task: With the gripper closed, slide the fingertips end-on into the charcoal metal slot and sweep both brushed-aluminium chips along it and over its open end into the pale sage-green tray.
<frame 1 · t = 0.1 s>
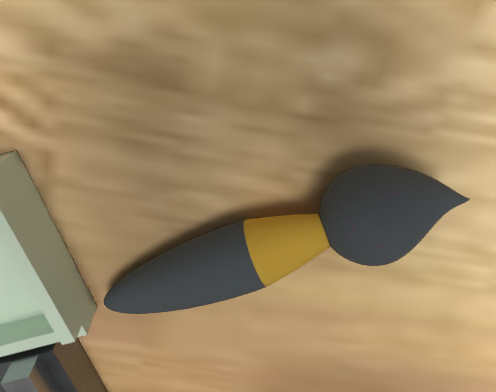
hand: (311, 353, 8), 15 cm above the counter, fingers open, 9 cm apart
paintbrush: (270, 231, 24), on the counter
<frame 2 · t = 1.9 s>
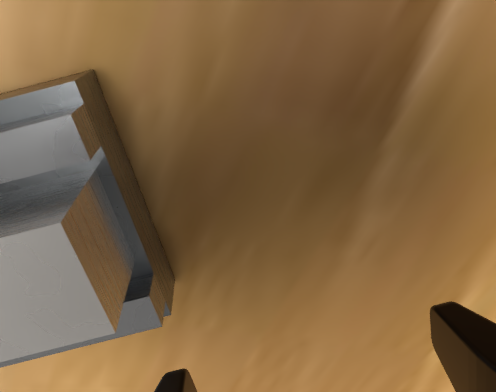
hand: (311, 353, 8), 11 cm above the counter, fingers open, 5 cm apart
chip a: (64, 230, 16), point 2 cm above the counter, touching slot board
slot board: (3, 222, 18), on the counter
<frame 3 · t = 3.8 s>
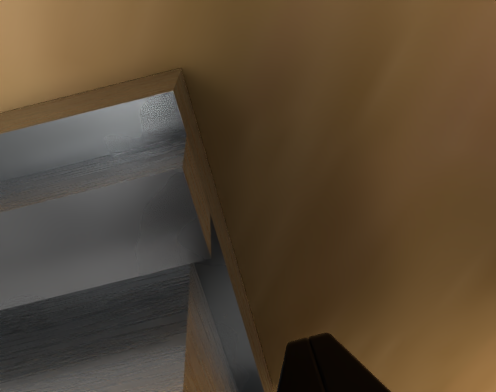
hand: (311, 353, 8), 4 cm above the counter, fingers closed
chip a: (125, 354, 9), point 3 cm above the counter, touching gripper
slot board: (16, 312, 11), on the counter
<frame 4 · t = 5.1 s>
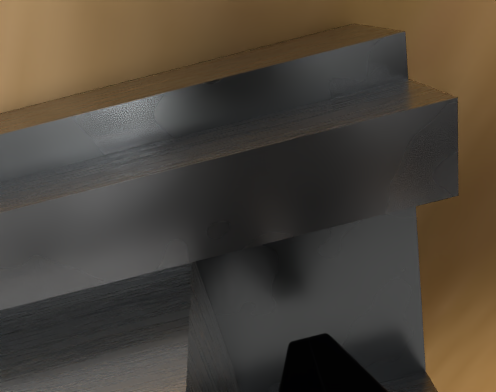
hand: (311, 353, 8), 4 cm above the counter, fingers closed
chip a: (128, 352, 9), point 3 cm above the counter, touching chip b, gripper
slot board: (155, 278, 11), on the counter
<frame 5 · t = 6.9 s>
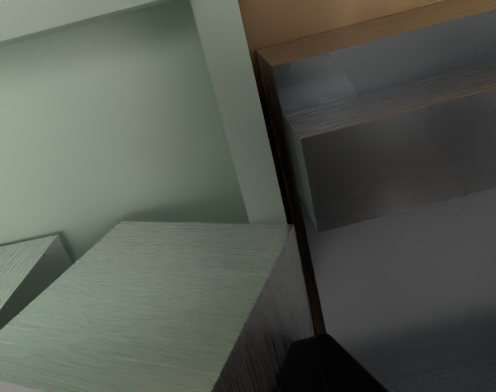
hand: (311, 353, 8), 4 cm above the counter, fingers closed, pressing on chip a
chip tray: (103, 293, 11), on the counter
chip a: (222, 298, 9), point 2 cm above the counter, tilted 27°, touching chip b, gripper
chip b: (58, 367, 9), point 3 cm above the counter, tilted 94°, touching chip a, chip tray
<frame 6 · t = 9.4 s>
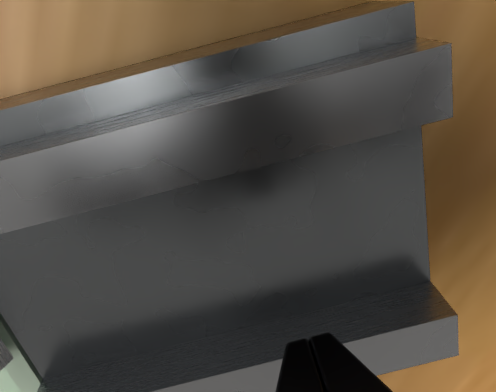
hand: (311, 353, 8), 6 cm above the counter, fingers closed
slot board: (209, 213, 14), on the counter
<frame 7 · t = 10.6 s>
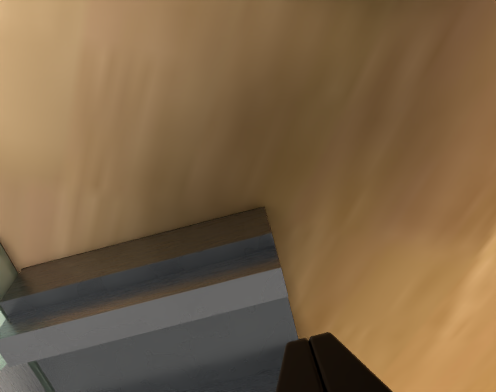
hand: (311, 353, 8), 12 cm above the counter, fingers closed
chip a: (11, 374, 21), point 2 cm above the counter, tilted 28°, touching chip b, chip tray
slot board: (174, 316, 22), on the counter
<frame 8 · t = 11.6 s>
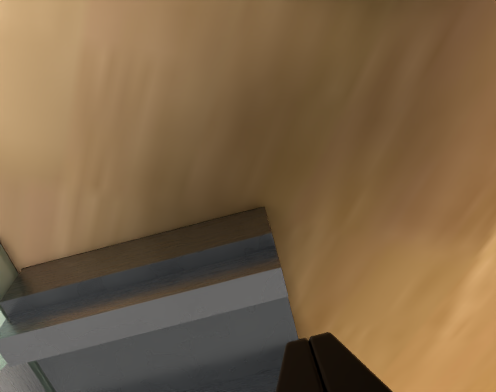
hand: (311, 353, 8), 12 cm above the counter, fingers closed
chip a: (11, 374, 21), point 2 cm above the counter, tilted 27°, touching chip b, chip tray
slot board: (174, 316, 22), on the counter
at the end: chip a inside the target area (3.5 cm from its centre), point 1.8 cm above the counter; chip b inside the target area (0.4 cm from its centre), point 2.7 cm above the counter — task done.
